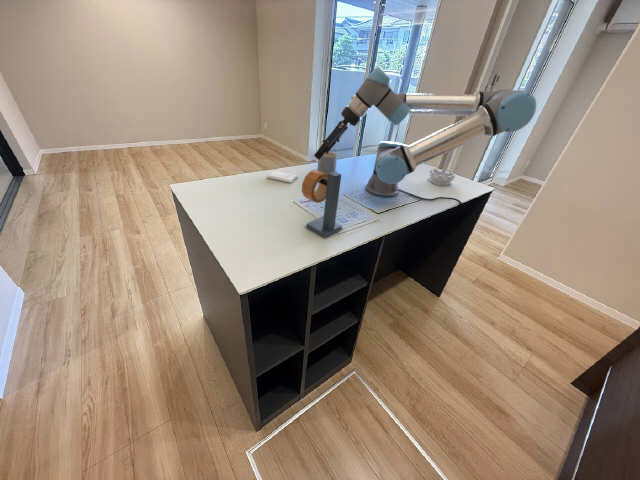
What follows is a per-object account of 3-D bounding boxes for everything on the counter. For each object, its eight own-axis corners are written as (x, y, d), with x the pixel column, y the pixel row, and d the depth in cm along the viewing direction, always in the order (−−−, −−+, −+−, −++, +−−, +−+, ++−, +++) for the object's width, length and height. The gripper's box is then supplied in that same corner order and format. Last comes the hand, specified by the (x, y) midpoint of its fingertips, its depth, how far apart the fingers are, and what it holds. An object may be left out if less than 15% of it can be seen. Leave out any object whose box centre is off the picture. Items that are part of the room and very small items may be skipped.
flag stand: (456, 183, 141) (479, 126, 124) (443, 188, 134) (466, 128, 117) (435, 176, 149) (454, 121, 132) (422, 179, 142) (441, 122, 125)
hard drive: (275, 173, 132) (296, 178, 129) (267, 178, 125) (290, 183, 122) (275, 170, 131) (297, 175, 128) (267, 175, 124) (290, 180, 121)
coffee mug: (326, 176, 133) (328, 158, 128) (313, 171, 139) (315, 153, 133) (342, 172, 142) (345, 154, 136) (330, 167, 147) (332, 149, 141)
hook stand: (324, 238, 85) (331, 179, 73) (299, 222, 92) (301, 167, 80) (341, 229, 91) (349, 173, 79) (315, 215, 98) (320, 162, 86)
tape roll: (320, 194, 92) (323, 167, 87) (330, 198, 90) (333, 171, 84) (301, 201, 86) (302, 173, 80) (310, 206, 83) (312, 177, 78)
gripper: (352, 103, 105) (322, 143, 116) (340, 105, 84) (305, 153, 95) (365, 116, 106) (334, 154, 117) (357, 120, 85) (319, 167, 96)
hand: (321, 154), depth 106 cm, fingers open, 13 cm apart
